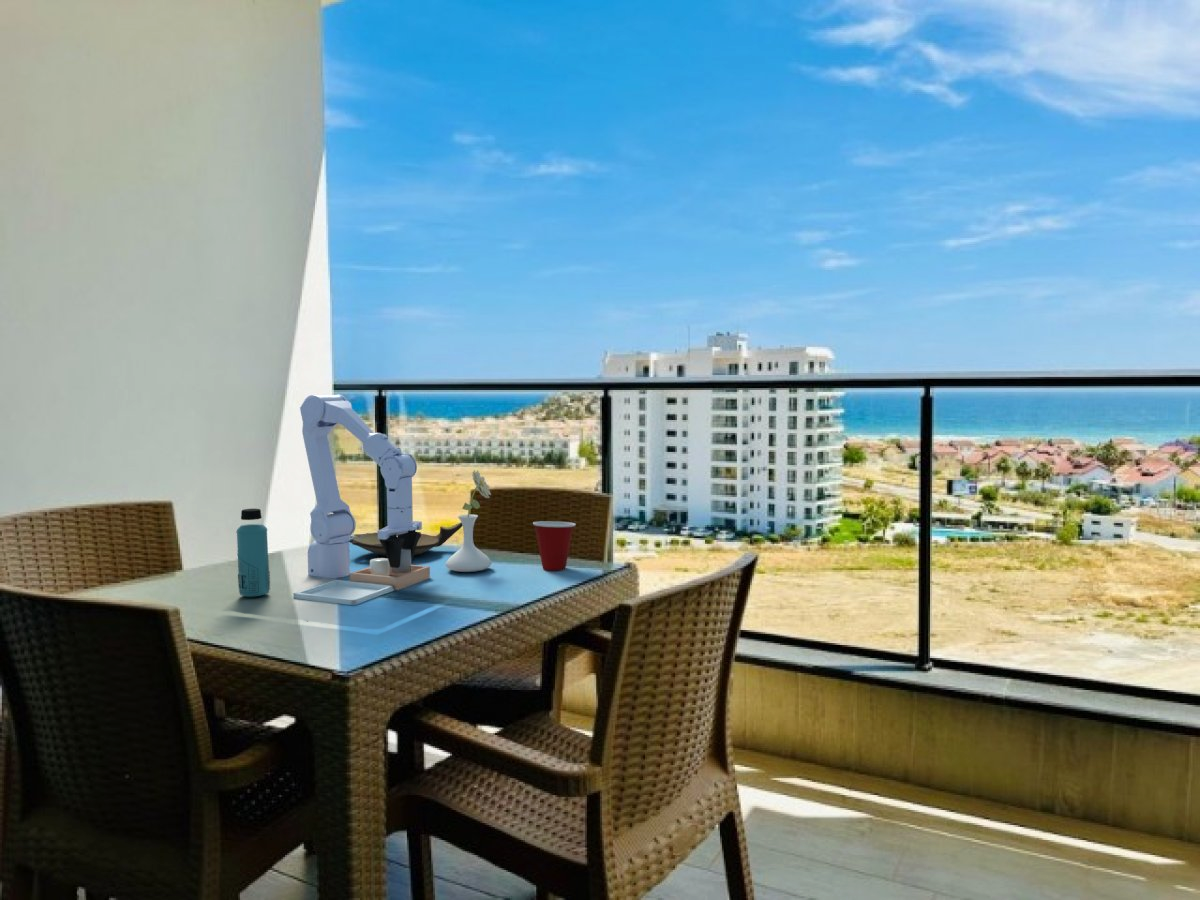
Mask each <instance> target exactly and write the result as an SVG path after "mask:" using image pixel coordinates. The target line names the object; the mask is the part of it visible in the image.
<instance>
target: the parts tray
mask: <svg viewBox="0 0 1200 900" xmlns="http://www.w3.org/2000/svg"><path fill="white" fill-rule="evenodd" d="M394 591H395V590H394V586H392V585H382V584H372V583H363V582H353V581H350V580H341V579H334V580H331V581H327V582H325V583H322V584H319V585H314V586H312V587H309V588H306V589H303V590H300V591H296V592H294V593H293V594H292V595H293V599H296V600H298V599H299V600H307V601H315V602H324V603H331V604H340V605H348V606H356V605H359V604H363V603H364V602H366V601H371V600H372V599H375V598H377V597H380V596H383V595H385V594H388V593H391V592H394Z"/></svg>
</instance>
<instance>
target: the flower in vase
mask: <svg viewBox="0 0 1200 900" xmlns="http://www.w3.org/2000/svg"><path fill="white" fill-rule="evenodd" d="M472 480H473V482H474V485H475V488H474V490H473V493H472V495H471V498H470V502H469V504H468V503H467V502H464V504H463V506H462V510H465V511H468V512H467V514H466V513H465V514H459V515H457V518H458V519H459V521H460V523H462V531H463V542H462V546H461V547H460V548H459V549H458V550H457V551H456V552H454V553H453V554H452V555H451V556H449V558H448V559H447V560H446V563H445V566H446V568H447V569H449V570H451V571H454V572H460V573H473V572H479V571H484V570H486V569H488V568H490V567H491V565H492V561H491V559H490V557H488V556H487V554H485V553H484V552H482V551H481V550H480V549H478V548H477V547H476V545H475V544H474V538H473V537H474V536H473V535H474V526H475V522H476V520H477V519H478V517H479V515H478V514H471V513H470V512H471V509H472V508H474V509H476V510H478V509H480V507H481V505H480V503H479V501H477V499H474V495H475V493H476V492H477V490H478V492H479V494H480V496H482V497H484V498H486V499H490V496H492V493H491V491H490V486H489V485H488V484H487V482H486V481H485V477H484V476H481V474H480V472H479V470H475V469H474V470H473V471H472ZM489 495H490V496H489Z"/></svg>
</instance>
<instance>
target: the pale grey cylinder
mask: <svg viewBox="0 0 1200 900" xmlns="http://www.w3.org/2000/svg"><path fill="white" fill-rule="evenodd" d="M369 567H370V574H372V575H382V576H391V575H390V572H389V561H388V557H386V558H385V557H380V558H379V557H377V558H371V559H370V560H369Z"/></svg>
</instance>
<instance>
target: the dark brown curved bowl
mask: <svg viewBox="0 0 1200 900" xmlns="http://www.w3.org/2000/svg"><path fill="white" fill-rule="evenodd" d="M461 528H463V526H462V523H461V522H459V523H456V524H454V525H452V526H449V527H446V526H442V525H441V526H440V527H439V533H438V534H437V535H430V534H427V533H426V534H425V533H421V537H420V539H419V540H418V543H417V545H416V548H415V552H414V556H417V555H420V554H423V553H425V552H429V550H432V549H433V548H438V547H442V545H444V544H445V543H446V542H447V541H448V540H449V539H450V538H451V537H452V536H454V535H455V533H457V532H458V531H459V530H460V529H461ZM349 544H352V545H353V546H356V547H359V548H361V549H364V551H365V550H366V551H368V552H370V553H374V554H376V555H380V556H383V557H387V554H386V551H385V549H384V547H383V546H382V544H381V543H380V539H378V532H367V533H366V532H365V533H362V534H358V535H356V536H354V537H353V538H351V539H350V540H349Z"/></svg>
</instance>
